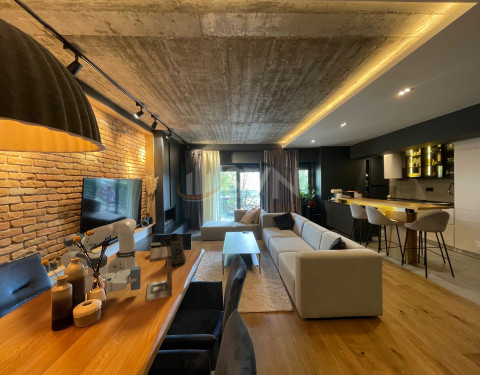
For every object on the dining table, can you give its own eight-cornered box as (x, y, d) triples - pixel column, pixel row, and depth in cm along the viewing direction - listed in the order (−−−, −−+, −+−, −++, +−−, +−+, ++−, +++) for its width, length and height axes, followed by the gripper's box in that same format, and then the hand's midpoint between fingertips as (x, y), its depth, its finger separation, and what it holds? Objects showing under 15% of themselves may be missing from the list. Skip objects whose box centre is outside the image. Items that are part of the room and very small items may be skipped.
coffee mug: (163, 253, 194) (162, 243, 194) (155, 256, 186) (155, 245, 186) (154, 251, 199) (154, 241, 199) (146, 254, 191) (146, 244, 191)
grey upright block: (130, 290, 118) (130, 270, 118) (131, 286, 123) (131, 267, 123) (140, 288, 120) (139, 269, 120) (140, 285, 125) (140, 265, 125)
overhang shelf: (146, 300, 115) (145, 259, 114) (147, 284, 133) (147, 248, 133) (172, 295, 120) (171, 255, 120) (170, 280, 139) (169, 246, 138)
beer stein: (189, 260, 176) (189, 232, 176) (177, 269, 157) (176, 237, 157) (172, 258, 180) (172, 231, 180) (158, 267, 161) (158, 236, 161)
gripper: (114, 278, 126) (138, 274, 131) (106, 295, 107) (135, 290, 113) (114, 268, 126) (138, 265, 131) (106, 283, 107) (135, 278, 112)
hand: (137, 276), depth 122 cm, fingers closed on grey upright block, 5 cm apart
